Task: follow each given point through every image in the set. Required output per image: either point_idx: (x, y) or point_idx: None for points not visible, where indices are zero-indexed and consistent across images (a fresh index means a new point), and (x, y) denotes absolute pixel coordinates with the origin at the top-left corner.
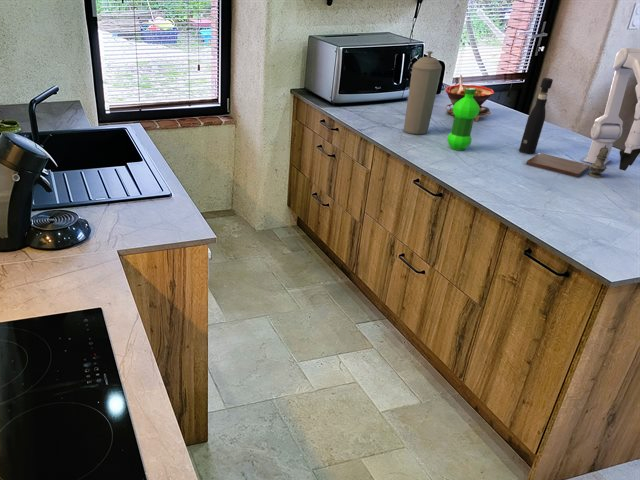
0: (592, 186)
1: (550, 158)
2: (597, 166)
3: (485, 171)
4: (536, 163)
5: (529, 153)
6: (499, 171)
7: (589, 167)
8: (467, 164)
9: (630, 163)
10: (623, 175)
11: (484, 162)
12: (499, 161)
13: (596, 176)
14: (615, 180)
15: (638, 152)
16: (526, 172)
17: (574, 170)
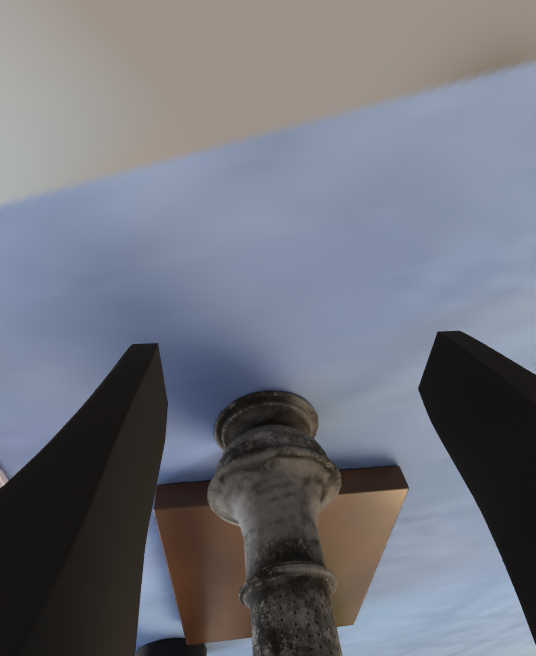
0: (532, 368)
1: (234, 612)
2: (322, 497)
3: (519, 614)
4: (360, 605)
5: (196, 644)
6: (497, 604)
7: (164, 493)
8: (472, 646)
9: (155, 377)
10: (56, 295)
11: (421, 642)
12: (378, 636)
13: (309, 416)
14: (275, 303)
15: (76, 571)
16: (457, 574)
17: (354, 516)
